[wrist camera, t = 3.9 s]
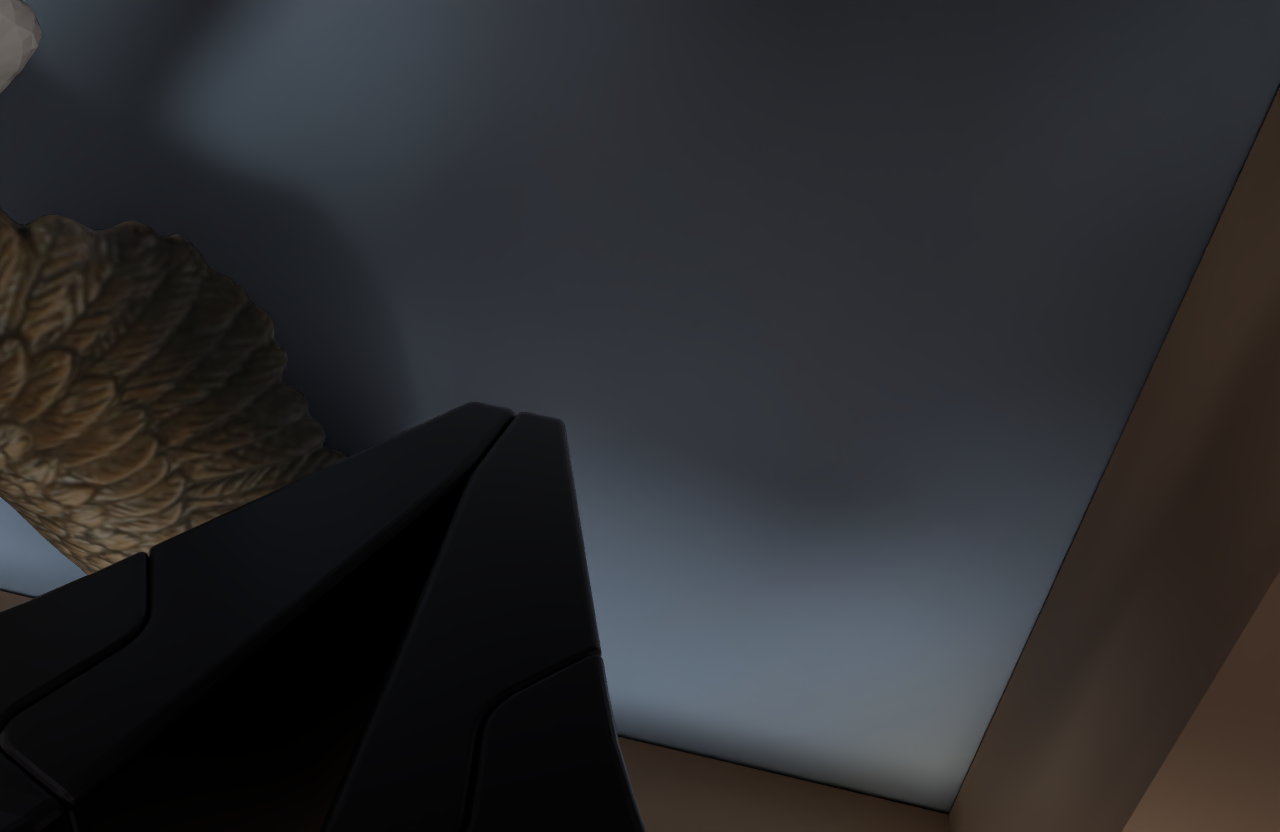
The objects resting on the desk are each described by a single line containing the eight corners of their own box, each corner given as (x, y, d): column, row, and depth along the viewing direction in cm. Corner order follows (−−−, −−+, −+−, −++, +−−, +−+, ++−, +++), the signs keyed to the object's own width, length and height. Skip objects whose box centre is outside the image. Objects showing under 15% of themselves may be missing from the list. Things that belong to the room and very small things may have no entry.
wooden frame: (1005, 883, 13) (1044, 1151, 10) (-279, 574, 14) (-524, 738, 12) (1611, -254, 6) (2118, -305, 4) (-814, -582, 8) (-1602, -771, 5)
